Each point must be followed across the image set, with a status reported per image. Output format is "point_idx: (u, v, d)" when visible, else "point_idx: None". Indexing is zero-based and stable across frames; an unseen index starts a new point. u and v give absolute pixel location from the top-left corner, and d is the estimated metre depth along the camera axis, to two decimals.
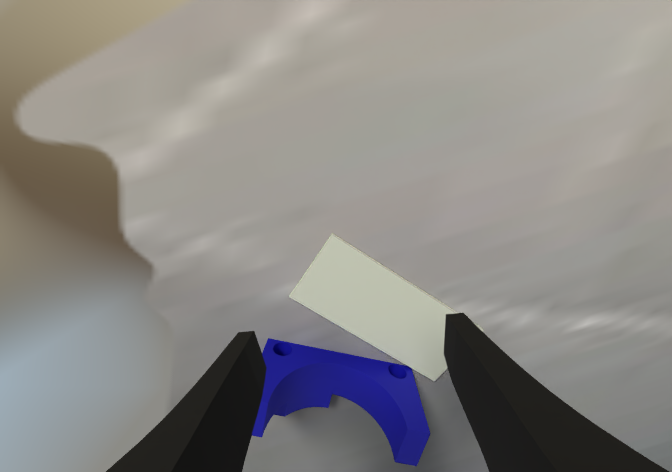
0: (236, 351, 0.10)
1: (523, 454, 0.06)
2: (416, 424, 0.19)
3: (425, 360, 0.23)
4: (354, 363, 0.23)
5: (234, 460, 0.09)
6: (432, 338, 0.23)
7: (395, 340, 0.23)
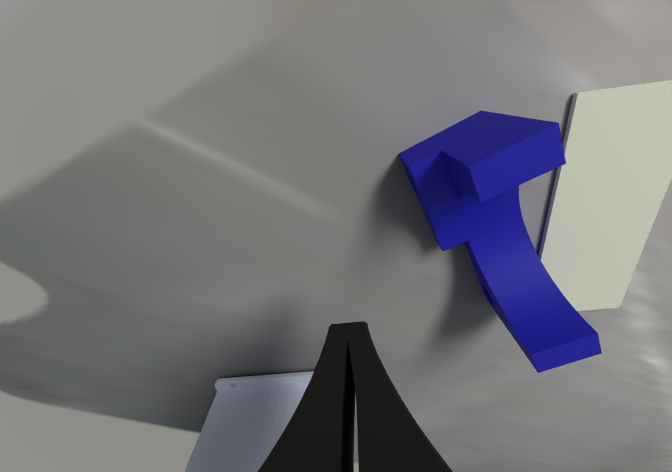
0: (341, 342, 0.09)
1: None
2: None
3: None
4: None
5: (350, 453, 0.08)
6: (587, 278, 0.19)
7: (566, 250, 0.18)
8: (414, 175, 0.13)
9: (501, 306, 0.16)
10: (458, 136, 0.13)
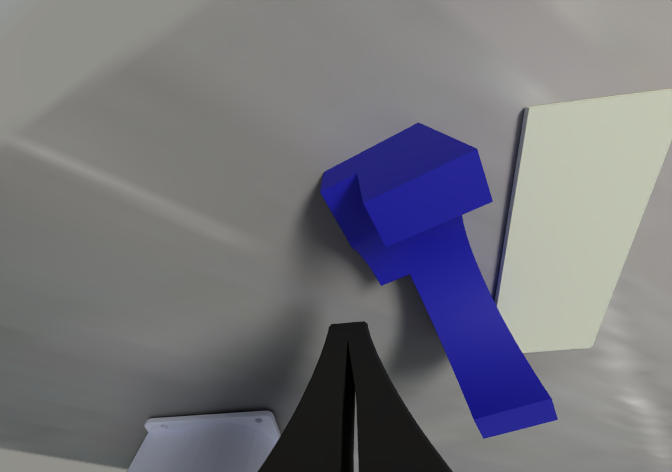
0: (341, 342, 0.09)
1: None
2: None
3: (514, 330, 0.17)
4: None
5: (350, 453, 0.08)
6: (553, 316, 0.16)
7: (527, 286, 0.15)
8: (327, 202, 0.11)
9: (446, 353, 0.14)
10: (381, 155, 0.11)
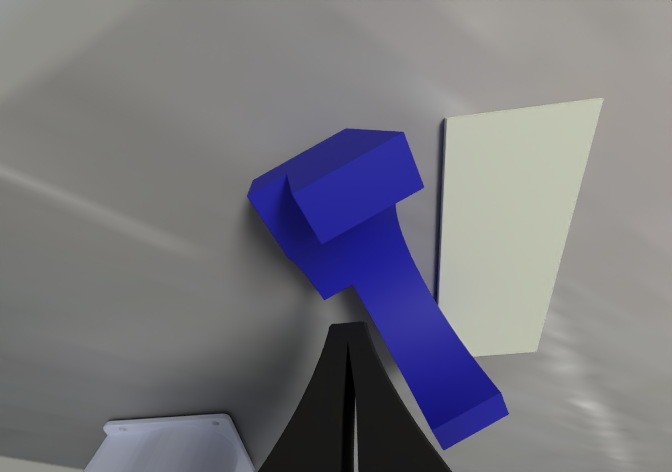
0: (341, 342, 0.09)
1: None
2: None
3: (458, 335, 0.17)
4: None
5: (351, 453, 0.08)
6: (495, 321, 0.17)
7: (465, 291, 0.16)
8: (256, 208, 0.10)
9: (397, 364, 0.13)
10: (311, 156, 0.10)
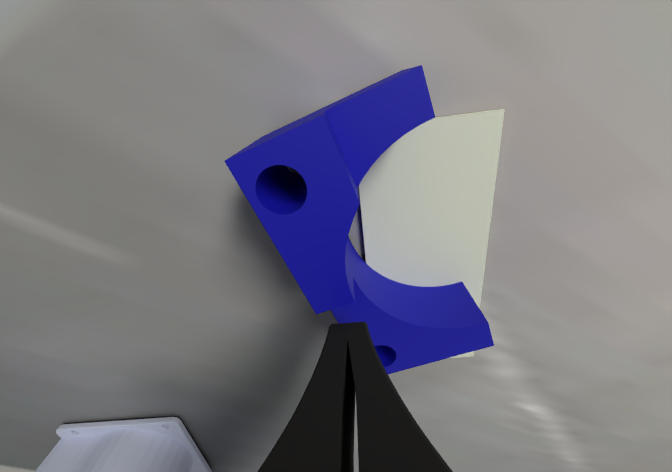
0: (341, 342, 0.09)
1: None
2: None
3: None
4: None
5: (350, 454, 0.08)
6: None
7: None
8: (330, 133, 0.08)
9: (422, 326, 0.13)
10: (307, 117, 0.10)
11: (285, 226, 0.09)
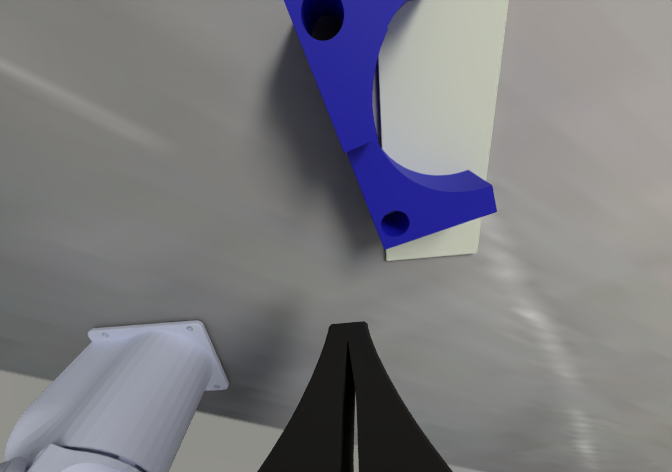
0: (341, 342, 0.09)
1: None
2: None
3: None
4: None
5: (350, 453, 0.08)
6: None
7: None
8: None
9: (434, 190, 0.14)
10: None
11: (323, 53, 0.11)
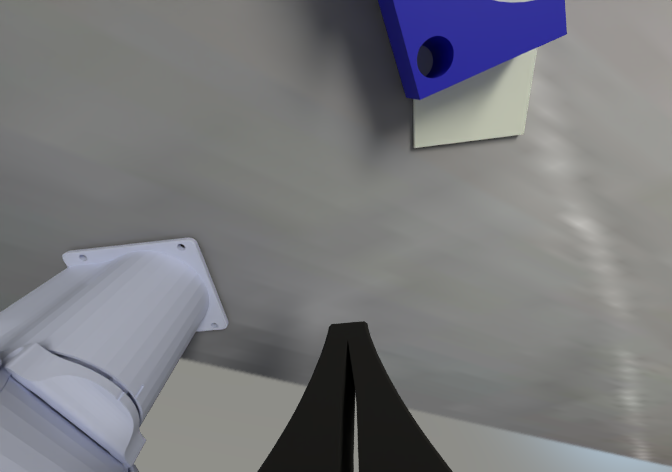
0: (341, 342, 0.09)
1: None
2: None
3: (438, 109, 0.16)
4: None
5: (350, 453, 0.08)
6: (477, 85, 0.15)
7: None
8: None
9: (488, 0, 0.11)
10: None
11: None
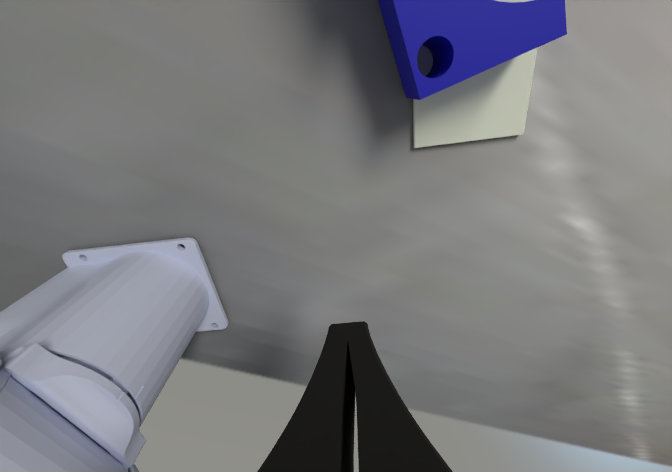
0: (341, 342, 0.09)
1: None
2: None
3: (438, 109, 0.16)
4: None
5: (350, 453, 0.08)
6: (477, 85, 0.15)
7: None
8: None
9: (488, 0, 0.11)
10: None
11: None
